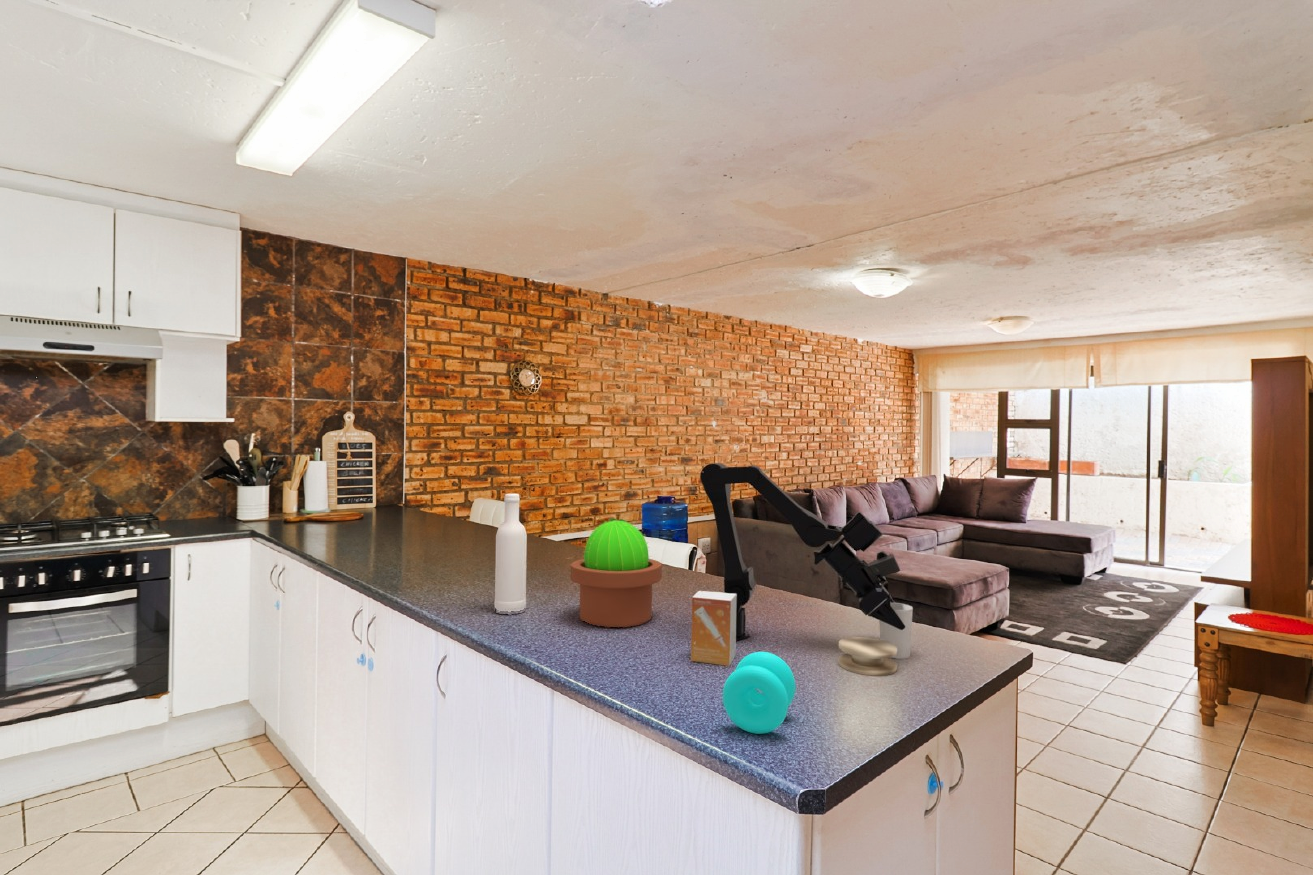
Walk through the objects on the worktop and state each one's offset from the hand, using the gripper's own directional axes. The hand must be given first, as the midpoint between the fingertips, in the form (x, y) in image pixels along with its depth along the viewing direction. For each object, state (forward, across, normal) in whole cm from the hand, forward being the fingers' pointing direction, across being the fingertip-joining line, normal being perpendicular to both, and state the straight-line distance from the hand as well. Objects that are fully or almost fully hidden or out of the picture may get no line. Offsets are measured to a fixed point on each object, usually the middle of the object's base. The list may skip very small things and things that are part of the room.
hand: (902, 622), depth 134 cm
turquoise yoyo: (-12, -43, +22) cm, 49 cm away
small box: (-21, -16, +31) cm, 41 cm away
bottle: (-61, +2, +71) cm, 94 cm away
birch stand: (0, -9, +10) cm, 14 cm away
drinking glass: (+4, 0, +6) cm, 7 cm away
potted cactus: (-42, +5, +52) cm, 67 cm away
